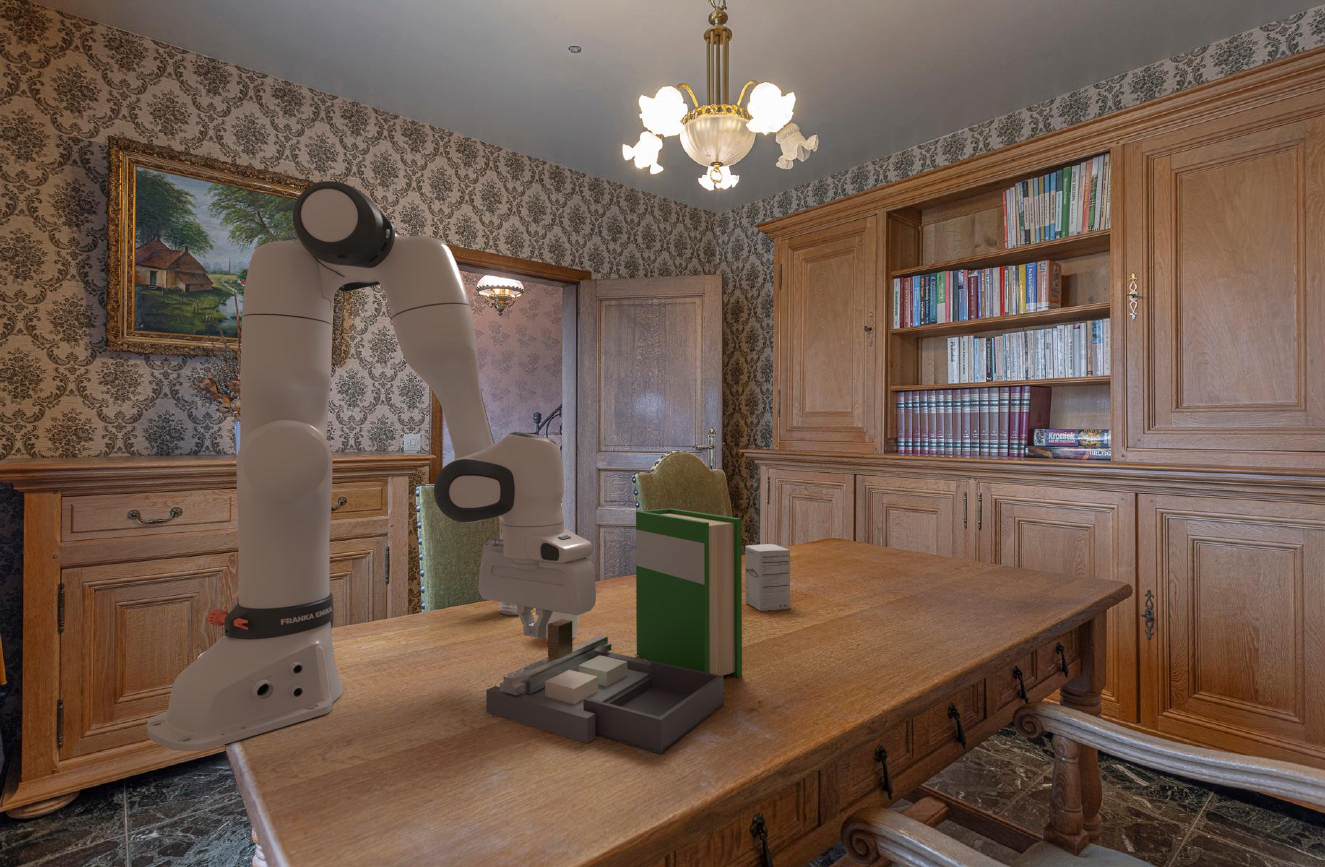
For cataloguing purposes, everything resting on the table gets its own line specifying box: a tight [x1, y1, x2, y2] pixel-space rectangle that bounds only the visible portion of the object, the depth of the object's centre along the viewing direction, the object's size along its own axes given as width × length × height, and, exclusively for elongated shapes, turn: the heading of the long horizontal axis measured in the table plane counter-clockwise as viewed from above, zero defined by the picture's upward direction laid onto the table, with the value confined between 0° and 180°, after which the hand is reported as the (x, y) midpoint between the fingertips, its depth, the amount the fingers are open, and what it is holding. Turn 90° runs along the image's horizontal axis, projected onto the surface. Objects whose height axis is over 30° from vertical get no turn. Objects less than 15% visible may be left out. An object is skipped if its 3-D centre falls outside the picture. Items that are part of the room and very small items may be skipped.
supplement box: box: [744, 543, 791, 612], centre depth 141 cm, size 7×7×13 cm
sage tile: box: [578, 655, 627, 686], centre depth 95 cm, size 5×5×2 cm
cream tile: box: [545, 670, 598, 704], centre depth 89 cm, size 5×5×2 cm
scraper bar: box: [499, 619, 612, 695], centre depth 94 cm, size 21×3×8 cm, turn 148°
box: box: [583, 661, 725, 755], centre depth 86 cm, size 16×12×4 cm
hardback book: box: [635, 508, 743, 679], centre depth 105 cm, size 18×7×24 cm, turn 37°
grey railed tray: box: [485, 651, 652, 744], centre depth 92 cm, size 21×17×3 cm
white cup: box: [544, 611, 579, 640], centre depth 120 cm, size 7×7×7 cm
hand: (534, 636), depth 97 cm, fingers closed
